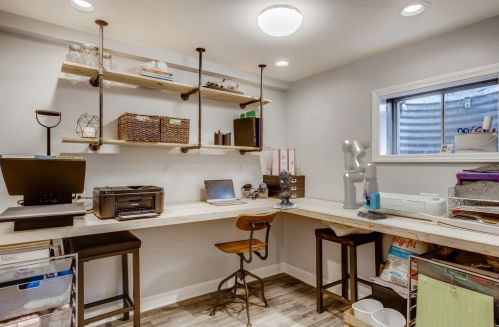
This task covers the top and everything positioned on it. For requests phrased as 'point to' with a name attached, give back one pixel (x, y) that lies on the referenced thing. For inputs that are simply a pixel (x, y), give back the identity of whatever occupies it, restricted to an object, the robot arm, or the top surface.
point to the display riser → (371, 215)
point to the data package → (372, 201)
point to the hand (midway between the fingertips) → (371, 204)
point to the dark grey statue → (285, 191)
